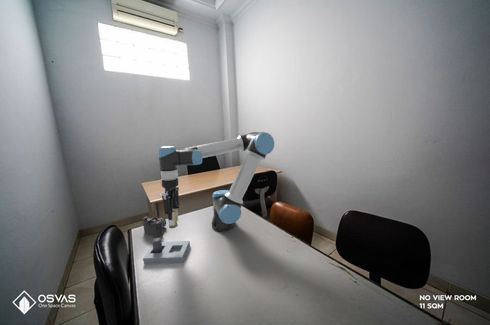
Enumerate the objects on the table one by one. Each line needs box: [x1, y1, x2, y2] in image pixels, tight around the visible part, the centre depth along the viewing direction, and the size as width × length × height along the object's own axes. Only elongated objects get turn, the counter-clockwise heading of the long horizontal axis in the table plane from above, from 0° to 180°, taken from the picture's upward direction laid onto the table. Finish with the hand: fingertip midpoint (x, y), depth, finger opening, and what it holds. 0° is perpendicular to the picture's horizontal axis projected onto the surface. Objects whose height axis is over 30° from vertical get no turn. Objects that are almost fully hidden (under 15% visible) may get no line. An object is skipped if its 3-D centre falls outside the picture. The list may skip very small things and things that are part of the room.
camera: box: [142, 216, 167, 238], centre depth 107 cm, size 14×11×10 cm
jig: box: [142, 237, 191, 265], centre depth 86 cm, size 18×12×8 cm, turn 91°
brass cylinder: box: [168, 210, 178, 229], centre depth 88 cm, size 4×4×8 cm
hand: (173, 222), depth 88 cm, fingers closed on brass cylinder, 4 cm apart
